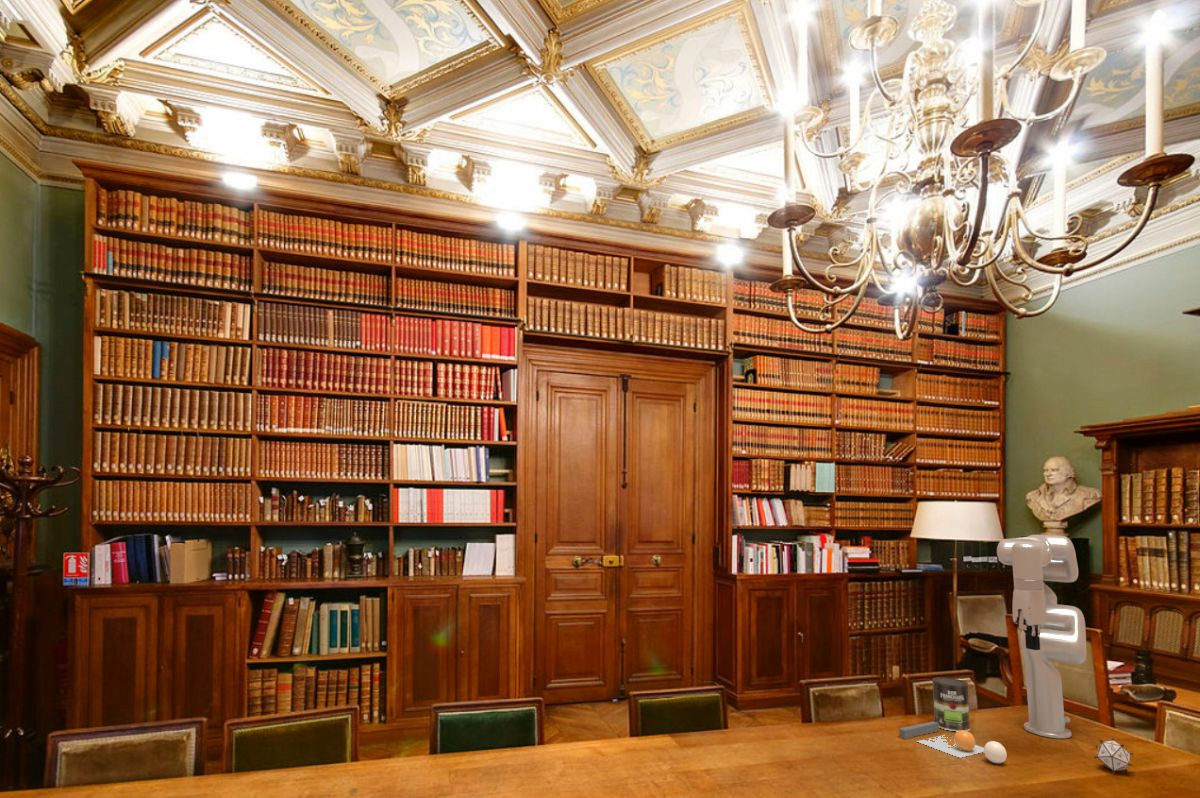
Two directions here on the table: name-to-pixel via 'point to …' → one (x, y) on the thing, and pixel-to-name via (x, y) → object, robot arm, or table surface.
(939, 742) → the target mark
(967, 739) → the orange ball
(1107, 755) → the game die
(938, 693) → the coffee can
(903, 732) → the bar
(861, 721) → the table surface
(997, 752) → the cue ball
